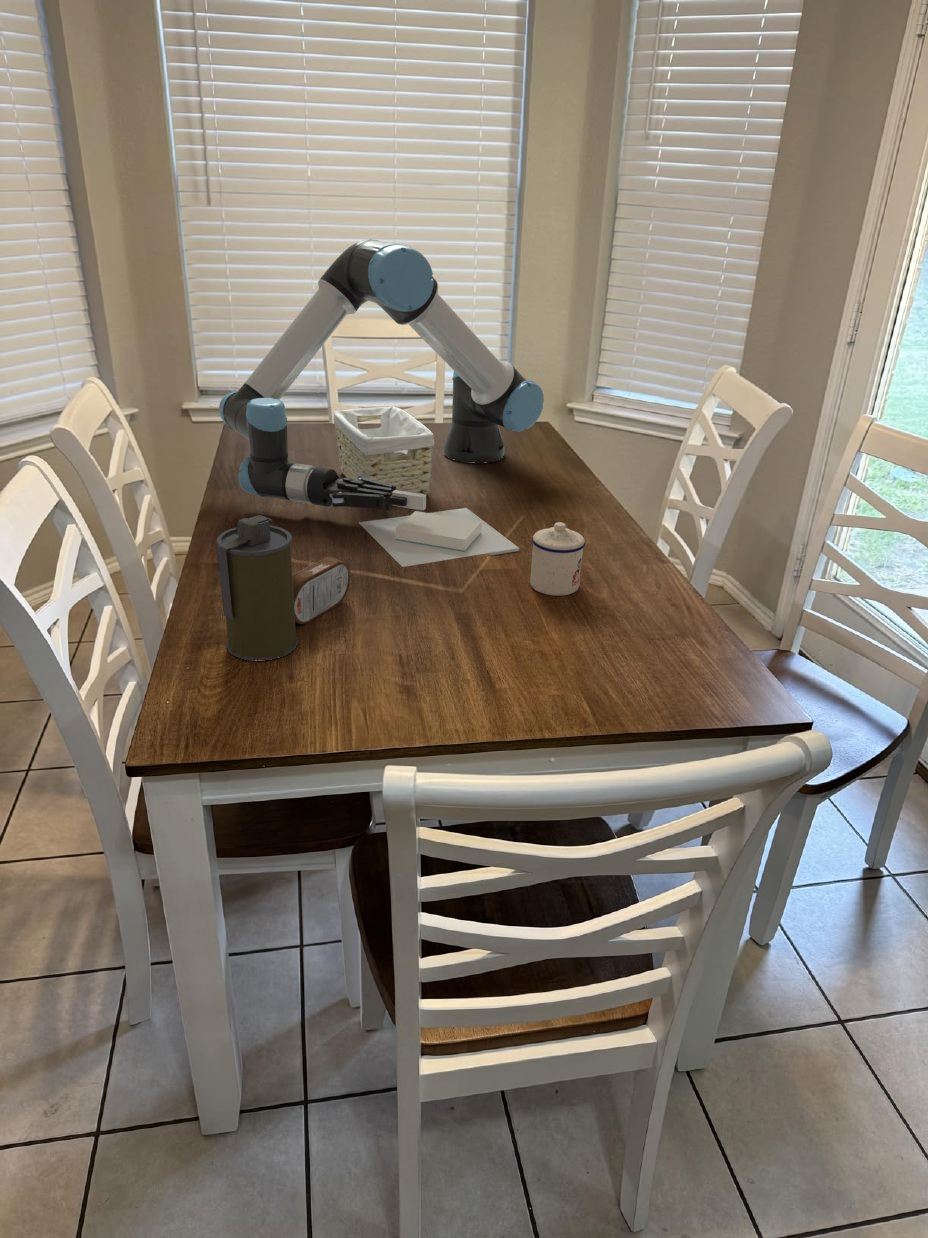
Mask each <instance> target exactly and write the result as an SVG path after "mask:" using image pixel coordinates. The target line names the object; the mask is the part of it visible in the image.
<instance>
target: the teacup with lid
mask: <svg viewBox="0 0 928 1238" xmlns="http://www.w3.org/2000/svg"><path fill="white" fill-rule="evenodd" d="M531 542H532V552H531V568H530V569H531V570H530V579H529V580H530V581H529V583H530V586H531V587H532V589H534V590H535V591H536V592H538V593H541V594H544V595H548V596H556V597H557V596H558V597H559V596H560V597H561V596H567V595H568V596H569V595H571V594H574V593H575V592H577V591H578V590H579V589H580V582H581V572H582V566H583V565H582V564H583V553H584V548H585V547H586V541H585V538H584V537H583V535H582V534H580V533H579V532H577V531H575V530H572V529H569V528H568V527H567V525H566V523H564V522H560V521H559V522H556V523H554V525H553V526H552V527H548V528H543V529H539V530H537V531H536V532H535V533H534V534H533V536H532V539H531Z"/></svg>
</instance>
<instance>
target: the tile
mask: <svg viewBox="0 0 928 1238" xmlns="http://www.w3.org/2000/svg"><path fill="white" fill-rule="evenodd" d="M431 513H432V512H424V511H420V510H415V511H414V512H413V513H411V514H410V515H408V516H409V517H408V518H407V519H406V520H404V521H403V522H402V523H401V524H400V525H399V526H398V527H396V540H398V541H404V542H409V543H415V544H421V545H427V546H433V547H438V548H444V549H450V550H456V551H462V552H465V551H466V550H467V549H468V548H469V547H470V546H471V544H472V543H473V542H474V541H475V540H476V539H477V538H478V537H479V536H480V534H481V529H482V522H481V521H475V520H468V519H462V518H456V517H450V516H444V515H437V514H431Z"/></svg>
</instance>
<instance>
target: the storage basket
mask: <svg viewBox="0 0 928 1238" xmlns="http://www.w3.org/2000/svg"><path fill="white" fill-rule="evenodd" d="M377 420H380V426H379V427H376V428H362V429H361V428H359V424H358V423H359V421H360V422H363V421H377ZM333 424H334V429H335V434H336V437H337V439H336V442H337V447H338V449H337V450H338V459H339V467H340V471H341V472H342V473H343V474H342V475H344V476H345V478H351V479H352V480H358V476H360V475H361V476H364V477H366V478H368V479H372V480H376V481H380V482H384V483H388V484H391V485H396V490H398V491H405V492H411V493H418V494H424V495H426V496H428V495H429V493H430V484H431V483H430V480H431V477H432V475H431V471H432V462H433V461H432V457H433V449H434V448H433V447H434V446H436V445H435V438H434V433H433V432H432V431H431V430H430V429H429V428H428V427H427V426H425V425H424V424H423V423H422V422H420V421H418V420H417V419H416V418H415V417H414V416H413V415H411V414H410V413H409V412H407V411H405V410H403V409H402V408H400V407H397V406H395V405H393V406H382V407H381V406H380V407H365V408H364V407H363V408H350V409H345V410H344V409H342V410H335V411H333Z"/></svg>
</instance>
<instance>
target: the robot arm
mask: <svg viewBox="0 0 928 1238" xmlns="http://www.w3.org/2000/svg"><path fill="white" fill-rule="evenodd" d="M433 274H434V273H433V269H432V267H431V264H430V262H429V261H428V259H427V258H426V257H425V256H424V255H423V254H422V253H421V252H420V251H419V250H417V249H415V248H413V247H411V246H408V245H407V244H401V243H393V242H392V243H391V242H385V241H380V240H378V239H377V240H376V239H371V238H370V239H361V240H359V241H357V242H355V243H354V244H352V245H350V246H349V247H348V248H346V249H345V250H344V251H342V253H341V254H340V255H338V257H337V258H336V259H335V260H334V261H333V262H332V263H331V264H330V266H329V267H328V268H327V269H326V270H325V272H324V273H323V274H322V276H321V277H320V279H319V280H318V281H317V284H318V289H317V291H316V292H315V293H314V294H313V296H312V297H311V298H310V300H308V302H307V303H306V305H305V306H304V307H303V308H302V310H301V311H300V312H299V313H298V315H296V317H295V318H294V319H293V321H292V322H291V323H290V325H289V326H288V328H287V329H286V330H285V331H284V332H283V334H281V336H280V338H279V339H278V340H277V341H276V343H275V344H274V345H273V347H272V348H271V349H270V350H269V351H268V352H267V354H266V355H265V357H264V358H263V359H262V360H261V362H260V363H259V364H258V365H257V367H256V368H255V369H254V371H252V373H251V374H250V376H249V377H248V378H247V379H246V381H245V382H244V383H243V385H242V386H241V387H240V388H239V389H238V391H233V392H229V393H227V394H225V395H224V396H223V397H222V398H221V400H220V402H219V405H218V414H219V416H220V419H221V420H222V422H223V423H224V424H225V425H227V427H228V428H229V429H230V430H232V431H234V432H236V433H238V434H239V435H241V436H242V437H244V438H245V439H246V440H248V447H249V457H246V458H244V459H243V460H242V462H241V463H240V466H239V473H238V477H237V478H238V482H239V486H240V488H241V489H242V490H243V491H244V492H245V493H248V494H251V495H255V496H259V497H261V498H270V499H278V500H285V501H290V502H291V501H292V502H298V503H299V504H300V505H304V504H312V505H315V506H321V507H325V508H326V507H327V508H328V507H331V506H332V507H333V508H341V507H347V508H348V507H351V508H363V509H364V508H365V509H377V510H378V509H380V510H382V509H384V508H385V507H386V511H389V510H391V509H392V507H399V508H404V509H405V508H407V509H412V510H416V511H425V510H426V508H427V495H424V494H418V493H411V492H405V491H398V490H396V485H391V484H388V483H384V482H380V481H376V480H372V479H368V478H366V477H364V476H361V475H360V476H358V480H352V479H351V478H347V477H343V478H340V476H339V475H338V472H337V471H336V470H335V469H334V468H329V467H328V468H327V467H321V466H317V467H316V466H315V465H310V464H303V463H295V462H290V461H289V449H288V448H289V446H288V445H289V444H288V425H287V424H288V417H287V414H286V413H287V412H286V406H285V403H284V402H283V401H282V400H281V398H282V397H283V396H284V395H285V393H286V392H287V391H288V390H289V388H290V387H291V386H292V385H293V383H294V382H295V381H296V380H297V379H298V377H299V376H300V375H301V373H302V372H303V371H304V370H305V368H306V367H307V366H308V365H309V363H310V362H311V361H312V359H313V358H314V357H315V355H316V354H317V353H318V352H319V351H320V350H321V348H322V347H323V346H324V344H325V343H326V342H327V340H329V338H330V337H331V336H332V334H333V333H334V332H335V331H336V329H337V328H338V327H339V325H340V324H341V323H342V322H343V321H344V319H345V318H346V317H347V316H348V315H354V314H356V313H357V311H358V310H359V308H360V307H361V306H362V305H363V304H365V303H367V302H372V303H374V304H376V305H377V306H379V307H380V308H381V309H382V310H383V311H384V312H385V313H386V314H387V315H388V316H389V317H390V318H391V319H392V320H393V321H394V322H395V323H396V324H397V325H399V326H406V325H408V326H409V327H410V328H411V329H412V330H413V331H414V332H415V333H416V334H417V335H419V337H420V338H421V339H422V340H423V341H424V342H425V343H426V344H427V345H428V346H429V348H431V349H432V350H433V351H434V352H435V353H436V354H437V355H438V357H440V358H441V360H443V361H444V363H445V364H446V365H448V367H450V369H451V370H453V372H452V373H453V374H452V402H451V403H452V408H451V409H452V411H451V414H452V415H451V424H450V428H449V430H448V434H447V437H446V439H445V442H444V446H443V455H444V454H445V455H446V456H447V457H449V458H450V460H451V459H455V460H458V461H462V462H461V463H463V462H475V463H482V464H485V463H484V462H492V463H495V462H494V461H496V462H498V461H497V460H499V459H501V460H502V458H503V459H504V457H505V444H504V440H503V438H502V434H501V429H500V427H502V428H505V430H508V431H514V432H518V433H519V432H523V431H527V430H529V429H531V427H533V426H534V425H535V424H536V423H537V421H538V420H539V419H540V416H541V415H542V412H543V409H544V405H543V404H544V402H545V401H544V400H545V396H544V393H543V389H542V388H541V386H540V385H539V384H537V383H536V382H535V381H533V380H530V379H526V378H524V376H523V375H522V374H521V373H520V371H518V370H517V368H515V367H514V366H513V365H512V363H511V362H510V361H507V360H499V359H498V357H496V356H495V355H494V354H493V352H491V350H490V349H488V347H487V346H486V345H485V344H484V343H483V342H482V340H481V339H480V338H479V337H478V336H477V335H476V334H475V333H474V331H473V330H472V329H471V328H470V327H469V326H468V325H467V324H466V323H465V322H464V321H463V320H462V318H460V316H459V315H458V314H457V313H456V312H455V311H454V309H453V308H451V306H450V305H449V304H448V303H447V302H446V301H445V300H444V299H443V298H442V296H441V295H440V294H439V293H438V291H439V283H438V281H437V279H435V277H434V276H433ZM445 455H444V456H445ZM446 456H445V457H446ZM503 456H504V457H503ZM447 457H446V458H447ZM449 458H448V459H449ZM458 461H457V462H458ZM499 461H500V460H499ZM391 506H392V507H391Z"/></svg>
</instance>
